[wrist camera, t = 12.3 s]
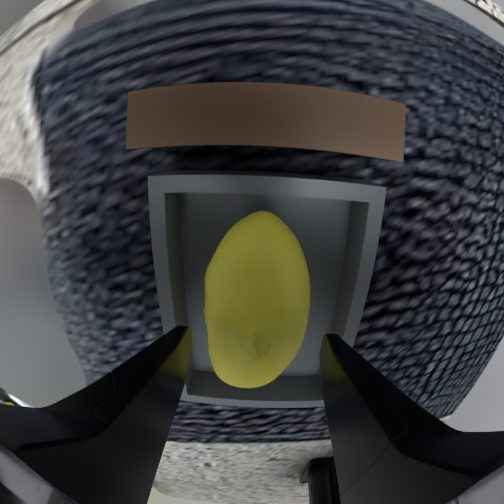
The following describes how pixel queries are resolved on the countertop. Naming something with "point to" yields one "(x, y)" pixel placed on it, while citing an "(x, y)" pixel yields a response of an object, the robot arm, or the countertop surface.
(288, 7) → the countertop surface
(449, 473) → the robot arm
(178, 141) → the rail
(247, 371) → the lemon
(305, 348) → the tray
